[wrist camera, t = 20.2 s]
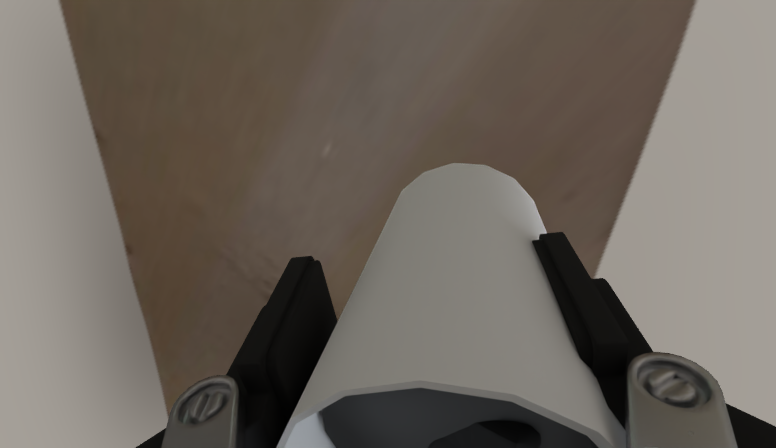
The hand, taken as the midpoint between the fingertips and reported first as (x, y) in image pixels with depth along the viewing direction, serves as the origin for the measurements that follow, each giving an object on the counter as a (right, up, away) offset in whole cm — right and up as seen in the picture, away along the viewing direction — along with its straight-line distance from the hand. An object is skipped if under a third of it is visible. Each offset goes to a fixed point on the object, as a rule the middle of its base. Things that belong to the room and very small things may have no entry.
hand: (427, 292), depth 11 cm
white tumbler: (+2, +2, +5) cm, 5 cm away
